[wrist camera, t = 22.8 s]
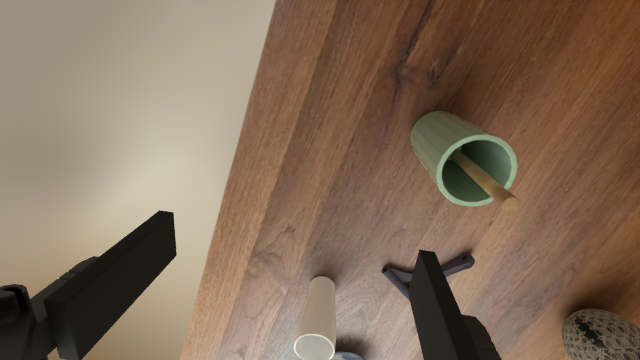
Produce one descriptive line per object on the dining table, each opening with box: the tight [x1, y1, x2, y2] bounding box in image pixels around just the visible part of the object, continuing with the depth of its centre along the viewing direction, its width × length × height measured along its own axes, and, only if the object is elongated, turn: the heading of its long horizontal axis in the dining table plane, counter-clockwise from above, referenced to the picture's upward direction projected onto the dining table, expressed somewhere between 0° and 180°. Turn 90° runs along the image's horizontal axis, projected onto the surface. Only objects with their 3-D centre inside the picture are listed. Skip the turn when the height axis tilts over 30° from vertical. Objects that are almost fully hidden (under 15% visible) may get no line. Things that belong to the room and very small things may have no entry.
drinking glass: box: [294, 276, 336, 360], centre depth 55 cm, size 7×7×15 cm
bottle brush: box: [446, 145, 519, 211], centre depth 37 cm, size 3×3×24 cm
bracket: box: [382, 253, 475, 300], centre depth 57 cm, size 14×15×3 cm
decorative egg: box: [562, 308, 640, 360], centre depth 52 cm, size 12×12×15 cm
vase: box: [410, 111, 518, 206], centre depth 41 cm, size 8×8×17 cm
